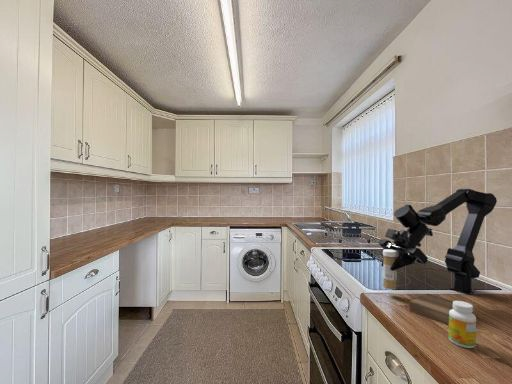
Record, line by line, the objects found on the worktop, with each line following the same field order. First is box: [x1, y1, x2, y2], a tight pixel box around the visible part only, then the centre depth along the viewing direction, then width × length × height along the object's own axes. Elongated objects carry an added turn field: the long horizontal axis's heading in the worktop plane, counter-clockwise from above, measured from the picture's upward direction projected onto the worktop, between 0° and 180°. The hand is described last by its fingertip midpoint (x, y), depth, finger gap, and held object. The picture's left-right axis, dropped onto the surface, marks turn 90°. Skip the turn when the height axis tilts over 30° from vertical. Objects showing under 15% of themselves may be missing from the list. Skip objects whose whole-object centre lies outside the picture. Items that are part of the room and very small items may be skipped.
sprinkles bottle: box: [382, 249, 398, 290], centre depth 95 cm, size 5×5×14 cm
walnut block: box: [409, 293, 454, 326], centre depth 81 cm, size 12×12×3 cm
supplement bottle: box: [448, 300, 477, 349], centre depth 66 cm, size 5×5×10 cm
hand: (386, 268), depth 94 cm, fingers closed on sprinkles bottle, 4 cm apart
